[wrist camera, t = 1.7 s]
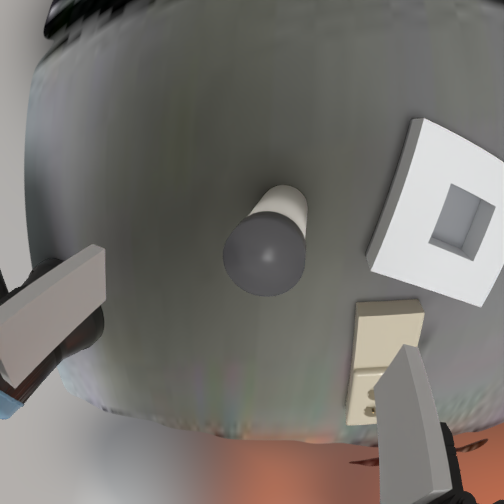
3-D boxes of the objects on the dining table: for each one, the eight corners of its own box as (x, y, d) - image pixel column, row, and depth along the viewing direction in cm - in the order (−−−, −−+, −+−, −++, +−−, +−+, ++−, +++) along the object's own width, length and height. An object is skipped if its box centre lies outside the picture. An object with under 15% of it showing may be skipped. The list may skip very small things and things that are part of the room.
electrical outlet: (427, 317, 26) (396, 423, 32) (417, 297, 29) (392, 401, 36) (359, 322, 27) (345, 426, 34) (355, 300, 31) (345, 404, 37)
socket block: (365, 254, 28) (370, 270, 25) (410, 119, 22) (424, 118, 19) (468, 290, 27) (480, 307, 24) (515, 176, 21) (534, 183, 18)
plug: (253, 224, 29) (216, 282, 19) (265, 177, 27) (232, 210, 17) (301, 238, 29) (290, 305, 18) (315, 192, 27) (316, 235, 16)
